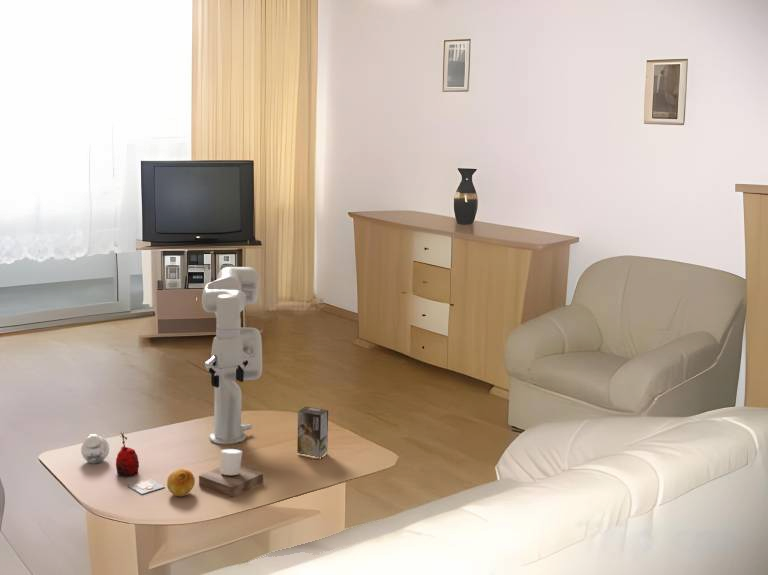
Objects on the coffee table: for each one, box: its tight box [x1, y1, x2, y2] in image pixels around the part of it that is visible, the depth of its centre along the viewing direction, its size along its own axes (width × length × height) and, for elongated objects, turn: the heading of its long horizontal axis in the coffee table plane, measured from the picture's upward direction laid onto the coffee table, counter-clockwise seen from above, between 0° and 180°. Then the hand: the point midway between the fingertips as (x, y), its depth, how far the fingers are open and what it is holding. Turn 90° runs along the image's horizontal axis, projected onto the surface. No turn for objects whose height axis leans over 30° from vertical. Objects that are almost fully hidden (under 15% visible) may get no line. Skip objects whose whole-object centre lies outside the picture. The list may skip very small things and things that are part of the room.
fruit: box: [166, 468, 196, 497], centre depth 269 cm, size 8×8×8 cm
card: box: [127, 478, 165, 496], centre depth 273 cm, size 8×8×1 cm
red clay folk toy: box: [115, 432, 140, 477], centre depth 281 cm, size 8×7×15 cm
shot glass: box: [220, 448, 243, 475], centre depth 278 cm, size 7×7×7 cm
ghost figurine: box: [80, 433, 110, 464], centre depth 290 cm, size 9×10×10 cm
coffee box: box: [296, 406, 329, 458], centre depth 304 cm, size 9×6×16 cm
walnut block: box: [198, 465, 264, 499], centre depth 278 cm, size 14×14×4 cm
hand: (227, 383), depth 287 cm, fingers open, 9 cm apart
